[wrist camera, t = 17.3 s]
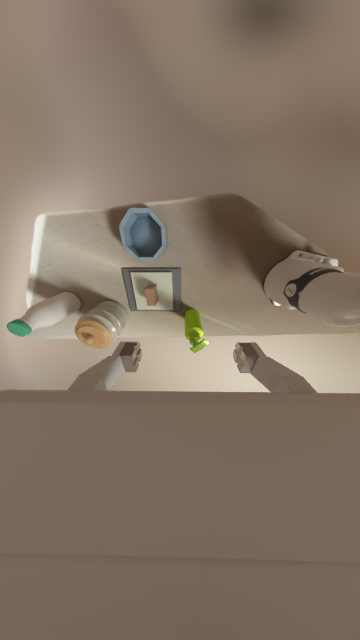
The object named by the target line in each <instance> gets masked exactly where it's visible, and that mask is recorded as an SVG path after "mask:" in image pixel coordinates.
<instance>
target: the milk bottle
mask: <svg viewBox="0 0 360 640" xmlns="http://www.w3.org/2000/svg"><path fill="white" fill-rule="evenodd" d="M80 307H81V302H80V299H79V298H78V297H77V296H76V295H75V294H73V293H70V292H63V293H60V294H58V295H55V296H53V297H51V298H48V299H46V300H44V301H41V302H39V303H37V304H35V305H33V306H32V307H31V308H29V309H28V311H27V312H26V313H25V315H24V316H23V317H22V318H20V319H16V320H14V321H11V322H9V323H8V324H7V328H8V330H9V331H10V332H11V333H13V334H15V335H17V336H26V335H28V334H30V333H31V332H33V331H34V330H35V329H38V328H42V327H48V326H51V325H54V324H56V323H58V322H59V321H61V320H63V319H64V318H66V317H67V316H69V315H70V314H72V313H74V312H75V311H77V310H78V309H79V308H80Z"/></svg>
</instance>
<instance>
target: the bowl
mask: <svg viewBox="0 0 360 640" xmlns="http://www.w3.org/2000/svg"><path fill="white" fill-rule="evenodd" d="M119 225H120V226H119V230H120V235H121V240H122V245H123V247H124V249H125V250H126V251H127V252H128V253H129V254H131V255H132V256H133V257H134V258H135V259H136V260H137V261H155V260H157V259H158V258H159V257H160V256H161V254H162V253H163V252H164V251H165V250H166V248H167V246H168V239H167V228H166V226H165V225H164V223H163V222H162V221H161V220H160V219H159V218H158V217H157V215H156V214H155V213H154V212H153V211H152V210H151V209H149V208H130V209H128V211H127V213H126V214H125V216H124V218H123V219H122V221H121V223H120V224H119Z"/></svg>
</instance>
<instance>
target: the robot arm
mask: <svg viewBox="0 0 360 640" xmlns="http://www.w3.org/2000/svg"><path fill="white" fill-rule="evenodd" d="M299 255H300V256H299ZM264 291H265V293H266V295H267V296H268V297H269V298H270V299H271V300H272V303H273V304H274V305H276V306H278V305H282V306H284V307H286V308H288V309H296V310H298V311H301V312H303V313H308V314H310V315H311V316H313V317H315V318H317V319H319V320H320V321H322V322H324V323H326V324H328V325H331V326H338V327H349V326H355V325H359V324H360V276H357V275H351V274H345V273H344V269H343V268H341V267H338V260H336V259H333V258H329V257H325V256H321V255H316V254H312V253H308V252H304V251H300V250H296V251H294V252H293V253H292V254H291V255H290V256H289V257H288V258H287V259H285V260H283V261H282V262H280V263H278V264H277V265H276V266H275V267H273V268H272V270H271V271H270V272H269V273H268V275H267V277H266V279H265V282H264ZM235 347H236V349H235V350H234V352H233V357H234V360H235V362H236V363H238V365H237V367H238V369H239V371H240V373H251V374H252V375H253V376H254V377H255V378H256V379H257V380H258V381H259V382H260V383H262V384H263V385H264V386H265V387H266V388H267V389H268V390H269V391H270V392H271V393H266V392H265V393H263V392H175V391H108V389H110V388H111V386H112V385H113V384H115V383H116V382H117V381H118V380H119V379H120V378H121V377H122V376H123V375H124V374H125V373H126V372H136V371H137V368H138V362H139V361H140V360H141V354H142V352H141V349H140V343H139V342H120V343H119V345H118V347H117V348H116V349H115V351H114V353H113V354H112V356H109V357H107V358H106V359H104V360H102V361H101V362H99V363H97V364H96V365H94V366H93V367H91V368H89V369H88V370H86V371H85V372H83V373H82V374H80V375H79V376H78V377H77V379H76V380H75V381H74V382H73V384H72V385H71V386H70V388H69V389H68V390H3V391H0V640H360V393H356V394H355V393H353V394H351V393H317V392H316V391H315V390H314V389H313V388H312V387H311V385H310V384H309V383H308V382H307V381H306V380H305V379H304V378H303V377H302V376H300V375H298V374H297V373H295V372H293V371H292V370H290V369H288V368H287V367H285V366H283V365H281V364H280V363H278V362H277V361H275V360H273V359H271V358H270V357H267V356H266V355H265V354H264V353H263V351H262V350H261V348H260V347H259V346H258V345H257V344H256V343H237V344H236V345H235Z"/></svg>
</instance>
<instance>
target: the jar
mask: <svg viewBox="0 0 360 640" xmlns="http://www.w3.org/2000/svg"><path fill="white" fill-rule="evenodd" d="M127 322H128V313H127V311H126V309H125V308H124V307H123V306H122V305H120V304H119V303H117V302H114V301H104V302H101V303H99V304H98V305H97V306H96V307H95V308H93V309H92V310H90V311H88V312H87V313H86V314H85V315H83V316H82V317H80V318H79V320H78V322H77V325H76V326H75V333H76V335H77V337H78V338H79V340H81V341H82V342H83V343H84V344H86V345H88V346H90V347H94V348H104V347H107V346H108V345H109V344H112V343H113V342H114V341H115V340H116V339H117V337H118V336H119V334H120V332H121V331H122V329H123V328H124V327H125V326H126V324H127Z"/></svg>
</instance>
